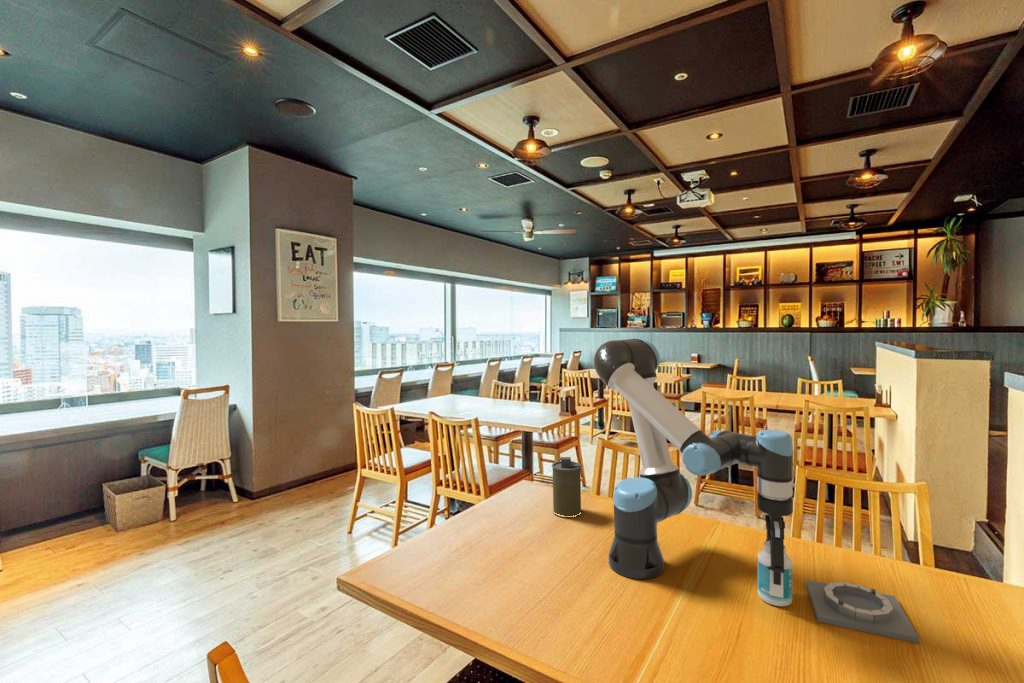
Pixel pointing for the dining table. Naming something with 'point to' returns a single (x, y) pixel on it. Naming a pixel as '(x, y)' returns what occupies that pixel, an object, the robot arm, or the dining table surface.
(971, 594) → the dining table surface
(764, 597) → the pill bottle
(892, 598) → the board
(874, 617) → the collar
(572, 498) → the canister
